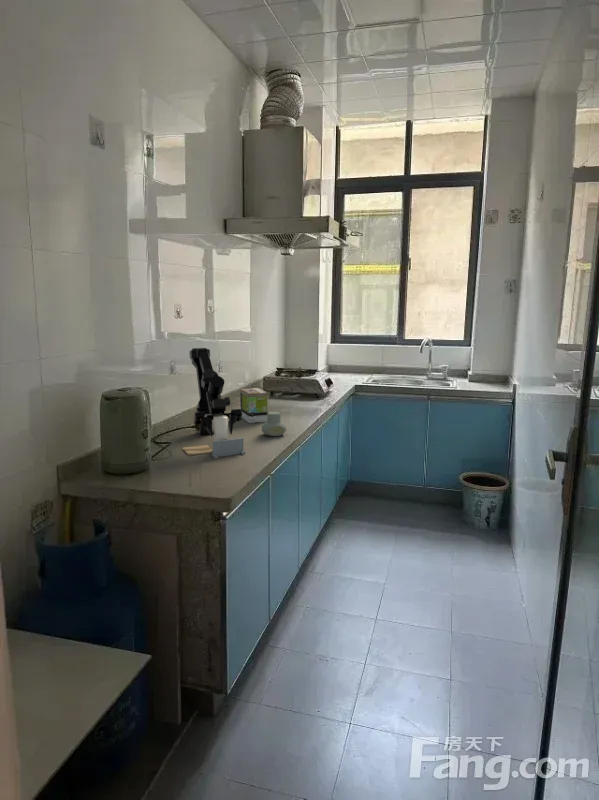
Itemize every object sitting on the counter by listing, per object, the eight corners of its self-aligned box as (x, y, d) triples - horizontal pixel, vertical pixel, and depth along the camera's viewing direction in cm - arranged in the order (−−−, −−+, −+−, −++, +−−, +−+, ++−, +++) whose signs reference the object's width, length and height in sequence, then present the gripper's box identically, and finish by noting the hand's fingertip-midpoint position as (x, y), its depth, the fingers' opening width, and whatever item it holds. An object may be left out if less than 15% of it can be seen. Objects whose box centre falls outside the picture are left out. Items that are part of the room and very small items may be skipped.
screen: (211, 455, 206) (211, 440, 205) (241, 451, 212) (241, 436, 210) (215, 458, 203) (214, 443, 202) (244, 454, 208) (244, 439, 207)
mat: (182, 449, 215) (182, 447, 215) (206, 446, 219) (206, 444, 219) (189, 455, 206) (189, 454, 206) (214, 452, 210) (214, 451, 210)
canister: (212, 450, 213) (211, 416, 210) (225, 448, 215) (225, 414, 213) (217, 454, 208) (216, 419, 205) (230, 452, 210) (229, 417, 208)
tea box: (268, 422, 260) (268, 392, 257) (248, 423, 257) (247, 393, 254) (259, 415, 274) (258, 387, 271) (240, 417, 270) (239, 388, 267)
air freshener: (263, 438, 231) (263, 415, 229) (260, 433, 239) (259, 411, 237) (288, 436, 234) (288, 414, 232) (283, 431, 242) (283, 410, 240)
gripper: (193, 391, 207) (200, 426, 199) (240, 388, 214) (248, 422, 206) (191, 407, 216) (196, 441, 208) (236, 404, 223) (243, 436, 215)
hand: (221, 434), depth 209 cm, fingers open, 7 cm apart
